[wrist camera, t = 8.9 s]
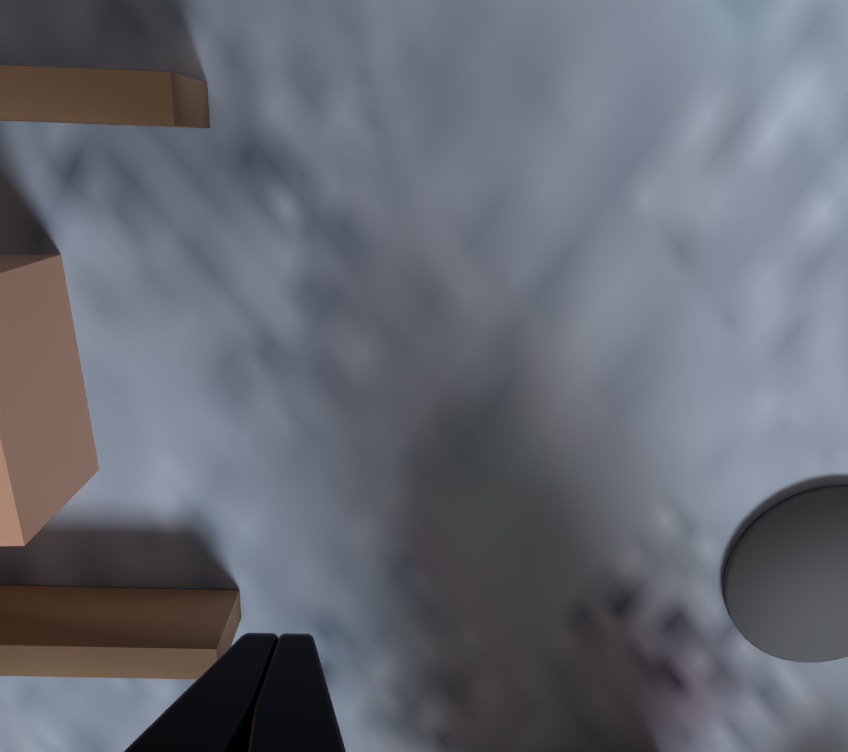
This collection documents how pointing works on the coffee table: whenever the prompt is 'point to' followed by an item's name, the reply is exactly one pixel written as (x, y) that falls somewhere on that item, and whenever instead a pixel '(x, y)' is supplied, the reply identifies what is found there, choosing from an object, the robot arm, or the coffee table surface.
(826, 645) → the pad
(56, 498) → the terracotta block
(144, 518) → the coffee table surface
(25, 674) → the bay
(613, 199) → the coffee table surface
